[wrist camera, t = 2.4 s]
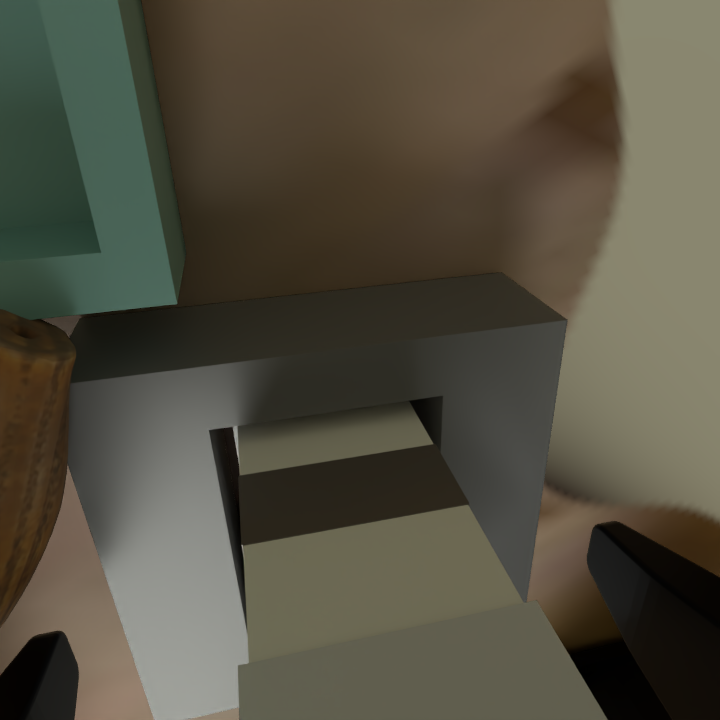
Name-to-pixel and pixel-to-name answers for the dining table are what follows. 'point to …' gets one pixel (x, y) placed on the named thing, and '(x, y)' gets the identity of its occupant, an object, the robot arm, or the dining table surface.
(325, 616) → the block
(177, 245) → the parts tray
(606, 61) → the dining table surface
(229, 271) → the dining table surface
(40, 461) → the hand bell
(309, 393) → the socket block
